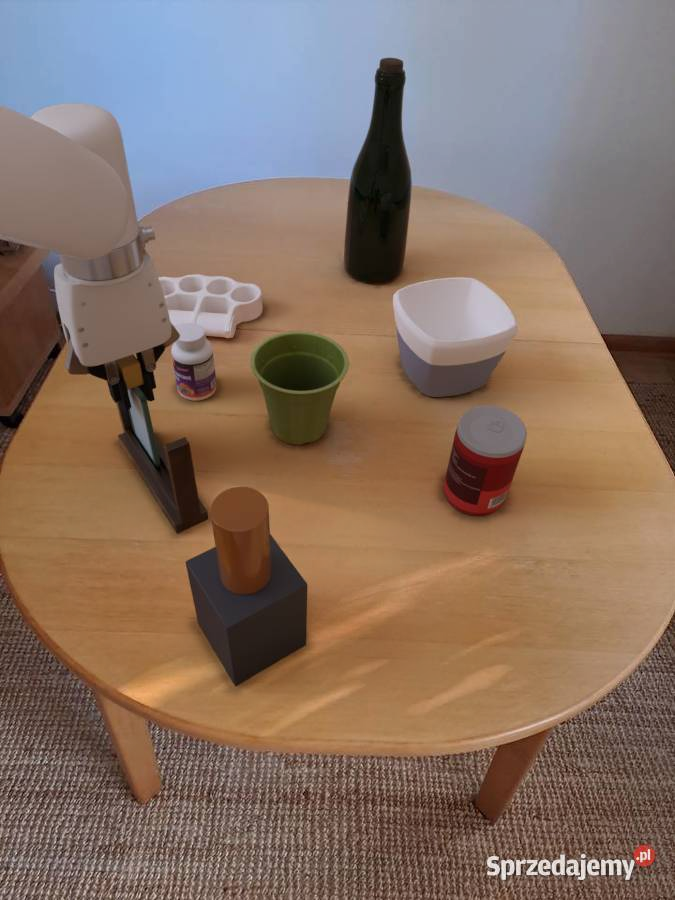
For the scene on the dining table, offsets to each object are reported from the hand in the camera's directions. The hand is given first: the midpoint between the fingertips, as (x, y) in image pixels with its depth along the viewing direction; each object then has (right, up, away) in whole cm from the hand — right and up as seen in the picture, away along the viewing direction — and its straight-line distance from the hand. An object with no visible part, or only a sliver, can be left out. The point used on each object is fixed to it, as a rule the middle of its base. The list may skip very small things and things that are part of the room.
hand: (135, 397), depth 76 cm
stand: (+14, -25, -9) cm, 30 cm away
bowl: (+38, +5, +22) cm, 45 cm away
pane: (0, -6, +6) cm, 9 cm away
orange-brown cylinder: (+15, -17, -16) cm, 28 cm away
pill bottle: (+4, +2, +17) cm, 18 cm away
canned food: (+40, -11, +6) cm, 42 cm away
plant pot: (+18, -3, +13) cm, 22 cm away
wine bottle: (+29, +25, +41) cm, 57 cm away
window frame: (+2, -10, +5) cm, 11 cm away
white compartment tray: (+2, +15, +30) cm, 34 cm away
